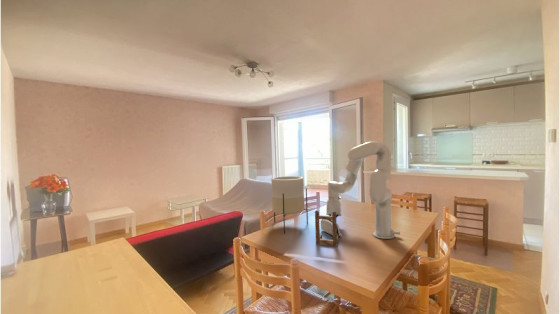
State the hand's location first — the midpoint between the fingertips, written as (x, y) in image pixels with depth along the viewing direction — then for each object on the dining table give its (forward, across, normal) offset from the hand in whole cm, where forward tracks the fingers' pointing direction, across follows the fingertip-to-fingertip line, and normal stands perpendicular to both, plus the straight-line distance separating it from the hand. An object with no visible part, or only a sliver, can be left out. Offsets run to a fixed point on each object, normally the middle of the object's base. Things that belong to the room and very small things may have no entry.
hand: (333, 223), depth 168 cm
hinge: (+2, 0, +17) cm, 17 cm away
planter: (+3, +33, +11) cm, 35 cm away
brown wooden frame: (+2, 0, +32) cm, 32 cm away
